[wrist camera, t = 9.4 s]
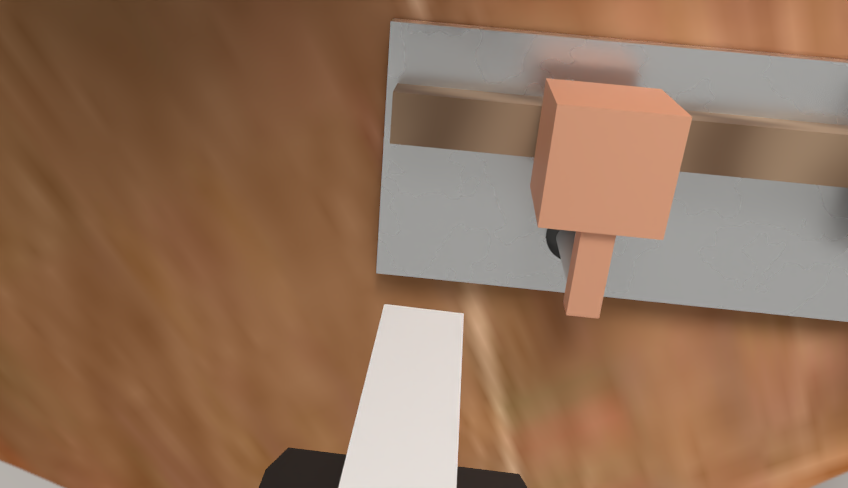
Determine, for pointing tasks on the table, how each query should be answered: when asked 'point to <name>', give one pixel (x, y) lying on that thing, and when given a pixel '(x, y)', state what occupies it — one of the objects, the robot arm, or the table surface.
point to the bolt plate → (694, 195)
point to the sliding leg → (604, 175)
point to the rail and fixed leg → (704, 152)
